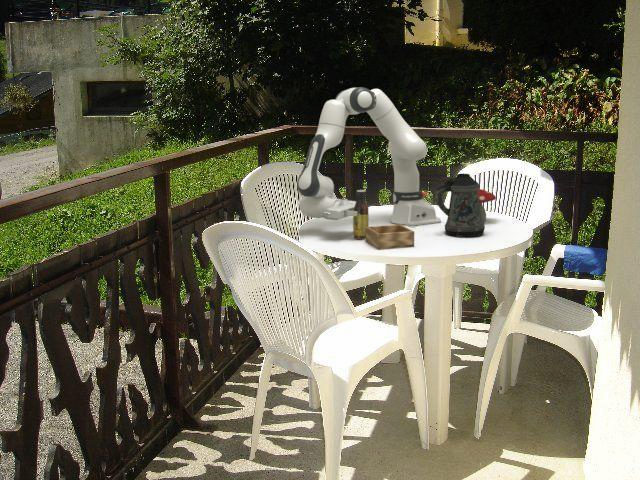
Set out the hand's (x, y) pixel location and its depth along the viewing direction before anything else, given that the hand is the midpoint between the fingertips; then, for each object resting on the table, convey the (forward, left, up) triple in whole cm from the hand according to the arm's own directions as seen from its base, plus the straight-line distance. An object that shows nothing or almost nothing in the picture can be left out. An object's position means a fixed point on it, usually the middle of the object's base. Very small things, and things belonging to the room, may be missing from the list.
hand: (362, 212), depth 316 cm
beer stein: (-41, +5, -11) cm, 43 cm away
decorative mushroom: (-59, -17, -11) cm, 63 cm away
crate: (-7, +13, -11) cm, 18 cm away
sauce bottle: (+1, -1, -11) cm, 11 cm away
